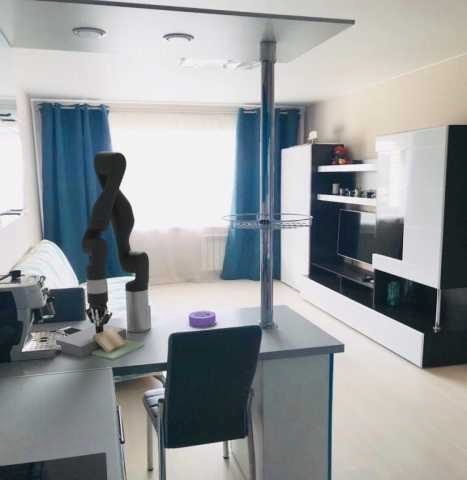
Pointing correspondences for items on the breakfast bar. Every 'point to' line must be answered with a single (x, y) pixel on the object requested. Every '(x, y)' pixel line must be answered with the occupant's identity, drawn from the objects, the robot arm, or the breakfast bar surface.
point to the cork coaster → (109, 340)
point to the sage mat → (119, 350)
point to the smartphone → (70, 330)
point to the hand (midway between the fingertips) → (99, 334)
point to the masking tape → (202, 318)
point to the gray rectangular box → (84, 341)
